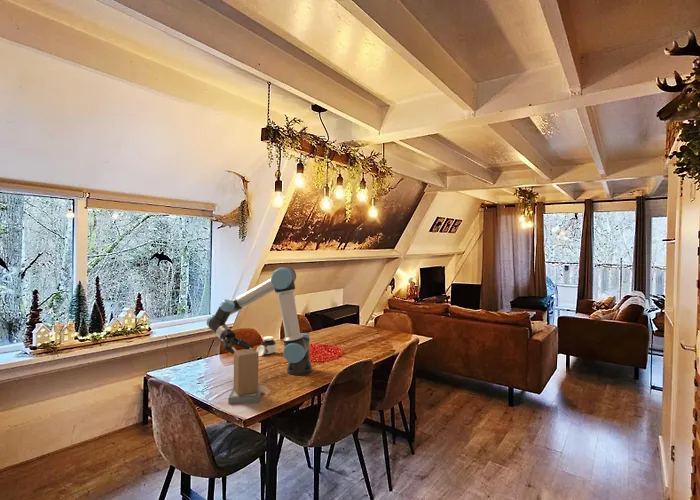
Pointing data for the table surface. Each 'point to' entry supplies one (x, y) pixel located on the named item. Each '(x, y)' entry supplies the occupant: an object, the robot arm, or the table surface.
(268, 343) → the spread jar
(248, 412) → the table surface
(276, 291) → the robot arm
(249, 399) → the slate base
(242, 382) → the wooden block
